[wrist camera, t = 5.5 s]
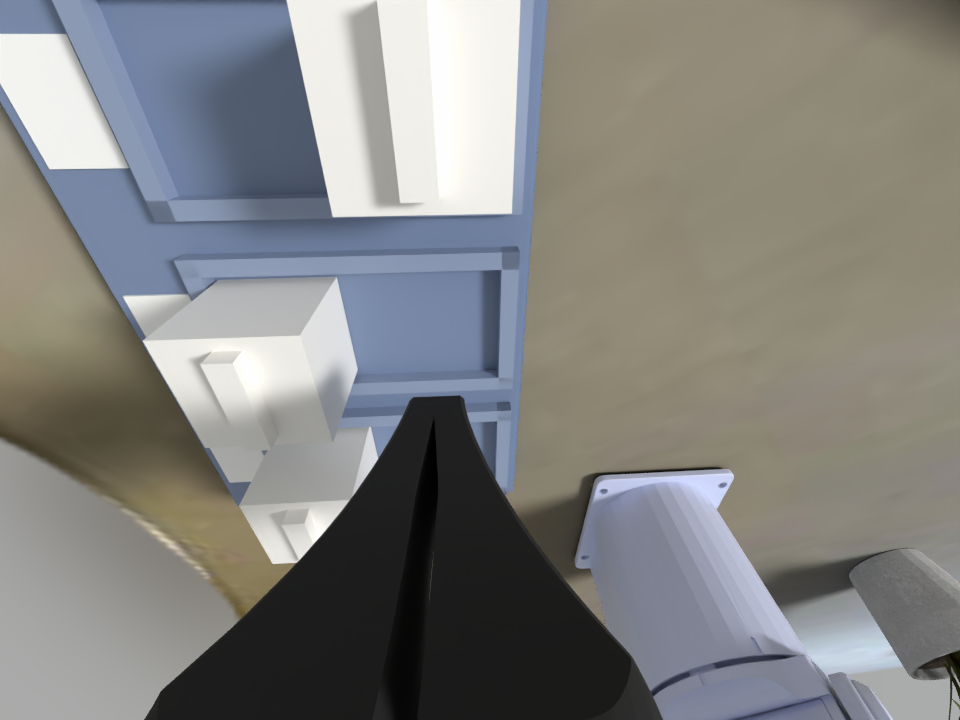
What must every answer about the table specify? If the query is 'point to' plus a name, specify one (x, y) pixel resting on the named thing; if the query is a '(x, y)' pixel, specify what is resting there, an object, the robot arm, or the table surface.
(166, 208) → the blue compartment tray
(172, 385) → the white block
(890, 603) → the house plant
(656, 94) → the table surface
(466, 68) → the white box
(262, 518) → the white block
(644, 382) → the table surface
